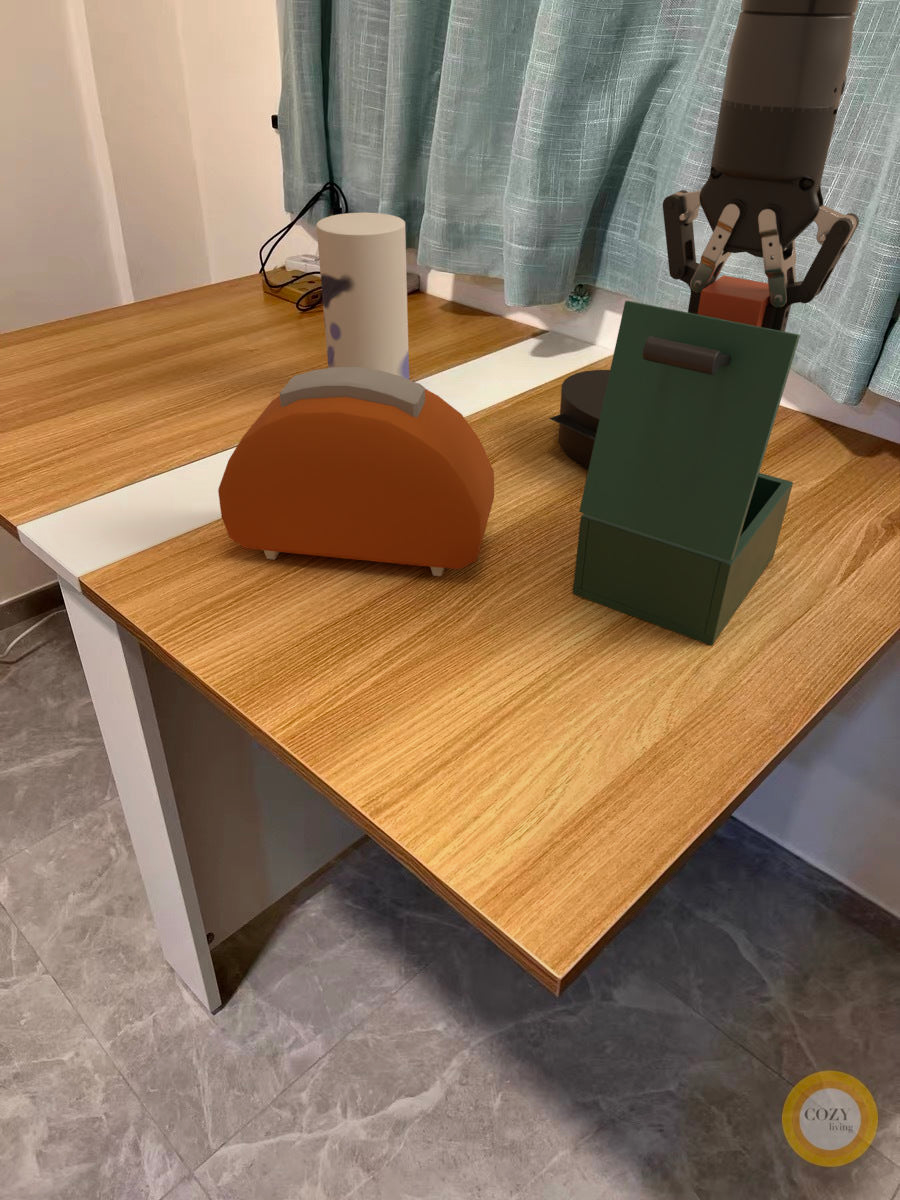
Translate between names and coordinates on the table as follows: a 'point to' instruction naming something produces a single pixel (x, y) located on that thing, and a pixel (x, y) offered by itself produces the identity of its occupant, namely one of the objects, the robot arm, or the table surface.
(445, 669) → the table surface
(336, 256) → the container
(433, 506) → the orange toaster
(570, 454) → the waffle maker
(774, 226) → the robot arm
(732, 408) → the lid
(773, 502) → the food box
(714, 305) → the block
